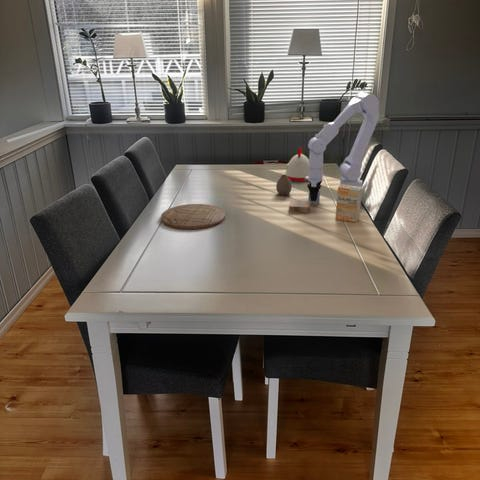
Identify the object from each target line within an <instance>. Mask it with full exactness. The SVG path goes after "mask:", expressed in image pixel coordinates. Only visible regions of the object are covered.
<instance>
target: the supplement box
mask: <svg viewBox="0 0 480 480" xmlns="http://www.w3.org/2000/svg"><path fill="white" fill-rule="evenodd" d="M336 194H337V197H336V207H335V208H336V210H335V216H334V217H335V218H334V219H335V220H337V221H344V222H352V223H357V222H358V220H359V218H360V211H361V203H362V197H361V195H362V196H363V186H362V187H357V186H351V185H344V184H341V185H340V184H339V186H338V187H337V193H336Z"/></svg>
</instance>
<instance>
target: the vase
mask: <svg viewBox="0 0 480 480" xmlns="http://www.w3.org/2000/svg"><path fill="white" fill-rule="evenodd" d="M291 181H292V180H289V178H288V177H287V175H286V174H281V175H280V177H279V179H278V180H277V181H276V184H275V186H276V187H275V188H276V192H277V194H278V195H280V196H289V194H290V193H291V192H292V189H293V185H292V182H291Z"/></svg>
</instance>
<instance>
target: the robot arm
mask: <svg viewBox="0 0 480 480" xmlns="http://www.w3.org/2000/svg"><path fill="white" fill-rule="evenodd" d="M379 105H380V101H379V100H378V98H377V96H376V95H375V94H373V93H368V92H365V91H360V92H358V93H357V94H355V96H354V97H353V98H351V99H350V100H349V102H348V104H347V105H346V106H345V107H344V108H343V110H342V111H341V112H340V113H339V114H338V116H337V117H336V118H335V119H334V120H333V121H332V122H328V123H327V124H325V123H324V125H323V126H322V127H323V128H322V129H321V130H320V131H319V132H318V134H317V133H315V134H314V137H312V138H311V139H310V140H309V141H308V144H307V146H308V149H309V157H308V159H309V173H308V177H305V179H308V180H307V181H308V182H309V183H307V184H306V185H307V186H306V187H307V189H308V193H309V192H310V198H311V201H316V199H317V195H318V192H319V190H320V189H321V187H322V185H321V184H322V182H323V168H324V167H323V166H324V152H325V151H326V149H327V145H328V144H330V142H331V141H332V140H333V139H335V137H336V136H337V135H338V134H339V131H340V128H341V127H342V126H343V125H344V124H345V123H346V122H347V121H348V120H349V119H350V118H351V117H352V116H353V115H354V114H359V113H361V114H362V117H363V121H362V124H361V125H360V128H359V130H358V133H357V135H356V137H355V140H354V143H353V145H352V147H351V150H350V153H349V155H348V156H346V157H345V159H344V161H343V162H342V163H341V164H340V165H339V170H338V171H339V173H340V174H341V176H340V180H339V181H340V182H339V186H340V185H341V184H344V185H351V186H357V187H362V188H363V180H362V179H360V177H361V175H362V174H361V173H362V171H361V170H362V167H363V163H362V161H363V160H362V159H363V157H364V155H365V153H366V150H367V148H368V145H369V143H370V140H371V138H372V135H373V134H374V131H375V128H376V126H377V124H378V121H379V120H380V119H379V118H380V110H379V109H380V108H379ZM361 198H363V194H362V195H361Z"/></svg>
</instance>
